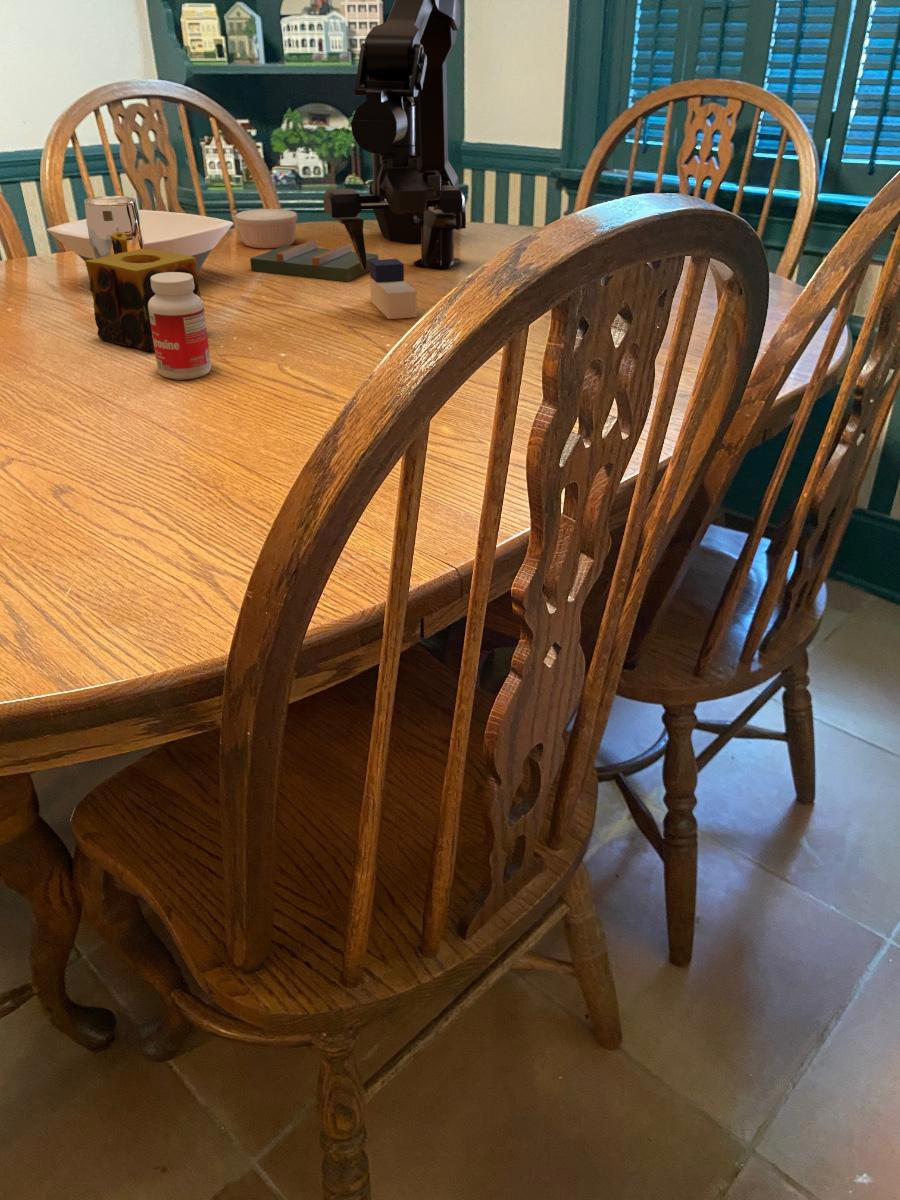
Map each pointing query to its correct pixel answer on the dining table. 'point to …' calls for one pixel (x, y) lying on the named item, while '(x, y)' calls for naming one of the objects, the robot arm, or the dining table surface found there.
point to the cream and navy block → (392, 289)
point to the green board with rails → (312, 262)
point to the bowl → (156, 234)
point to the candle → (131, 292)
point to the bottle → (400, 224)
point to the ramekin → (267, 227)
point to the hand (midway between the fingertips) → (395, 266)
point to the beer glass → (113, 225)
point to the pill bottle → (178, 327)
